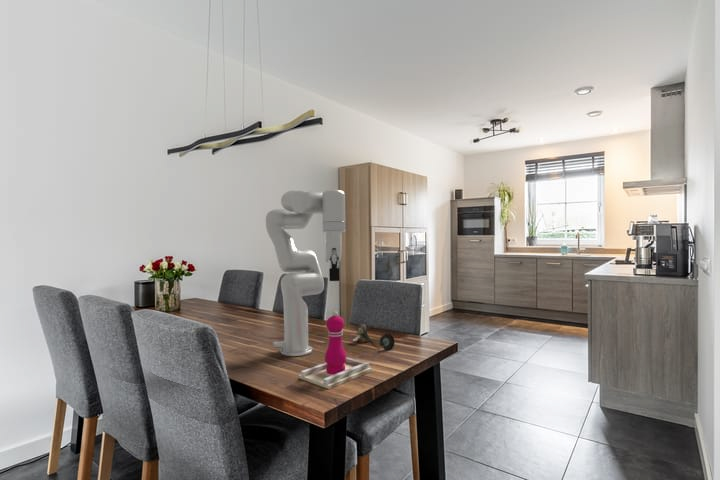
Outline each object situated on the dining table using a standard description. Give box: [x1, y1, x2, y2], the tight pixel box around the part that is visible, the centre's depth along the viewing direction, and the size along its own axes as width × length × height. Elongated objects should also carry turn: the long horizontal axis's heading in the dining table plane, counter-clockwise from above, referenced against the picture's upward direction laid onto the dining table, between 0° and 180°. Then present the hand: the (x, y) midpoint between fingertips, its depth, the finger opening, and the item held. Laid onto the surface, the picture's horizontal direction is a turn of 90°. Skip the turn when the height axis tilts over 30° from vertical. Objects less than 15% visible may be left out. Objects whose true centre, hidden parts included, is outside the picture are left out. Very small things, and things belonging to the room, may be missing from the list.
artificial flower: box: [352, 323, 396, 352], centre depth 163 cm, size 9×22×10 cm, turn 32°
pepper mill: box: [324, 311, 347, 375], centre depth 127 cm, size 7×7×20 cm
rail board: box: [298, 356, 373, 390], centre depth 127 cm, size 20×14×2 cm
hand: (334, 279), depth 127 cm, fingers open, 9 cm apart
